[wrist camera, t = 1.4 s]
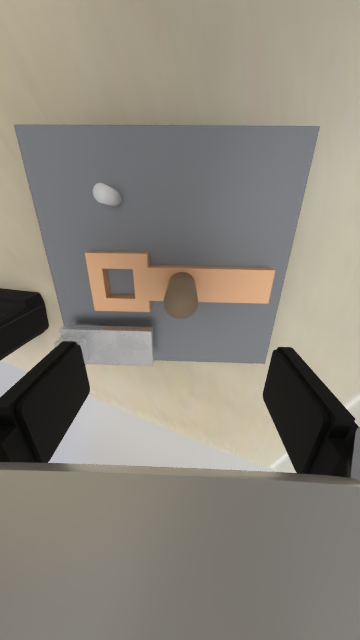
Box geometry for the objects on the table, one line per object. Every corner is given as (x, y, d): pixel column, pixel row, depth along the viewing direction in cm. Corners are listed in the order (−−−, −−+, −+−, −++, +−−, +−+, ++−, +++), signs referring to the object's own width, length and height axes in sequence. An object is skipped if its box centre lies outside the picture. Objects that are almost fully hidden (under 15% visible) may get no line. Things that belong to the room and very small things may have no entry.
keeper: (81, 311, 29) (51, 335, 23) (157, 313, 29) (149, 338, 23) (87, 341, 31) (62, 370, 25) (158, 343, 31) (151, 373, 25)
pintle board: (25, 131, 21) (-21, 104, 16) (310, 132, 20) (347, 105, 16) (77, 352, 32) (58, 373, 28) (261, 357, 32) (274, 380, 27)
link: (99, 306, 27) (70, 333, 20) (90, 251, 24) (52, 261, 17) (261, 310, 27) (287, 339, 20) (272, 254, 24) (307, 266, 17)
